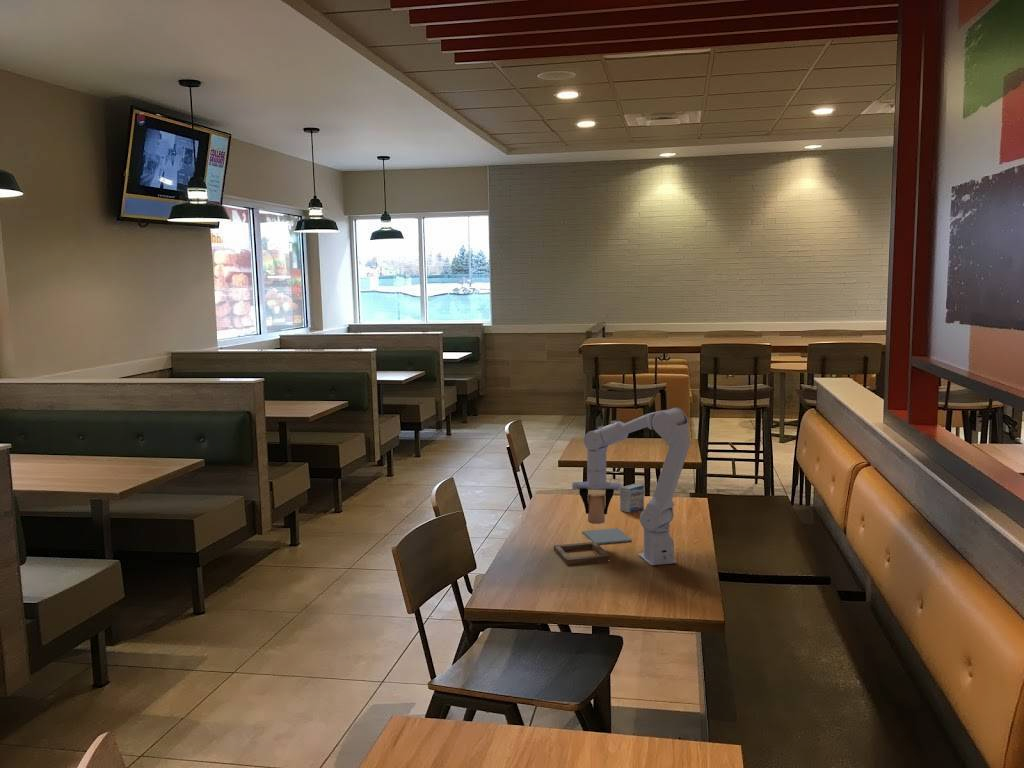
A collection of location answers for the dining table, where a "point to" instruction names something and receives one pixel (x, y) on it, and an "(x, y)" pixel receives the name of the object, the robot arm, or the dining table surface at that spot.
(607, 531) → the rubber mat
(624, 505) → the medicine box
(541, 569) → the dining table surface
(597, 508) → the terracotta cylinder
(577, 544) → the frame
